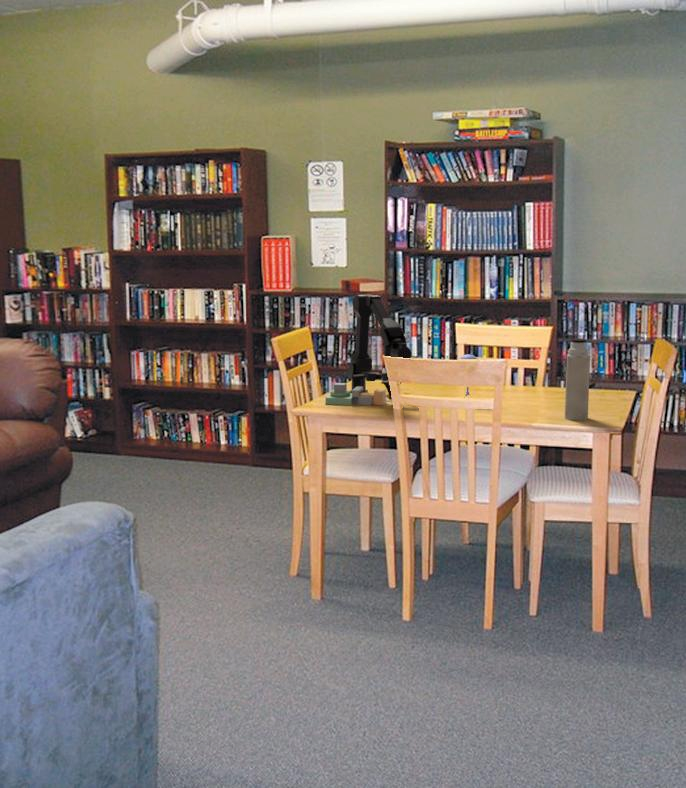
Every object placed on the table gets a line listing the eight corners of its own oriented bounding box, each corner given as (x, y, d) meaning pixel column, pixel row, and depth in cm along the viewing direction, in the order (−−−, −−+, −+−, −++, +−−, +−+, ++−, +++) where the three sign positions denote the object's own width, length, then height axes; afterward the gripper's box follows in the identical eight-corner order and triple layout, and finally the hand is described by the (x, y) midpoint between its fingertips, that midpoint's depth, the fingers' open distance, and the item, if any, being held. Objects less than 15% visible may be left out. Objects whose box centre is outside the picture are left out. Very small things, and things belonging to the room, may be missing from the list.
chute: (356, 401, 411) (356, 388, 410) (385, 402, 408) (386, 389, 408) (353, 403, 405) (353, 390, 404) (383, 405, 403) (383, 391, 402)
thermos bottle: (562, 416, 380) (564, 337, 375) (584, 415, 381) (587, 337, 376) (567, 420, 373) (570, 340, 368) (590, 420, 373) (593, 340, 368)
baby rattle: (462, 398, 416) (463, 352, 413) (482, 400, 412) (483, 353, 409) (452, 401, 409) (453, 355, 406) (473, 403, 405) (474, 356, 401)
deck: (332, 399, 416) (332, 381, 414) (376, 400, 412) (376, 382, 410) (325, 404, 405) (325, 385, 404) (370, 405, 401) (370, 387, 400)
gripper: (363, 361, 396) (363, 402, 399) (412, 362, 392) (412, 404, 395) (369, 357, 407) (369, 397, 410) (417, 358, 403) (417, 399, 405)
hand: (391, 399), depth 404 cm, fingers closed
